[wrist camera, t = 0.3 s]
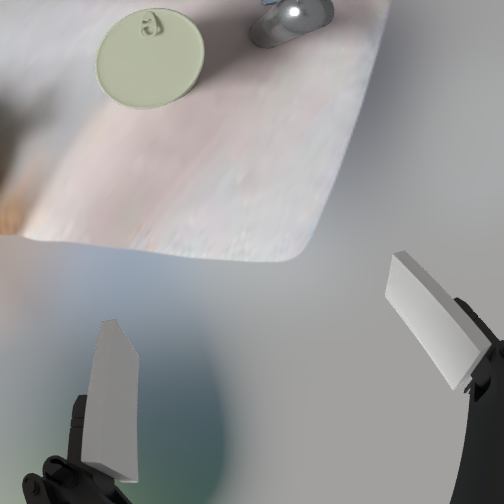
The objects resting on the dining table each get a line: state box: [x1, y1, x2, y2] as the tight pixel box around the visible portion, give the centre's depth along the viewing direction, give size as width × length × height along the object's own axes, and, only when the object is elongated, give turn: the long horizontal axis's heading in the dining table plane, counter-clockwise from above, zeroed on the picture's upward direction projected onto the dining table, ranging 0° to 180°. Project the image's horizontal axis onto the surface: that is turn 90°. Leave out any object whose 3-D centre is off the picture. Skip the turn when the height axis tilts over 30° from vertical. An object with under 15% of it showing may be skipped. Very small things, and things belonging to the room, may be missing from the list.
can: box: [95, 8, 205, 109], centre depth 22 cm, size 9×9×12 cm
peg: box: [250, 0, 334, 48], centre depth 21 cm, size 4×4×14 cm
